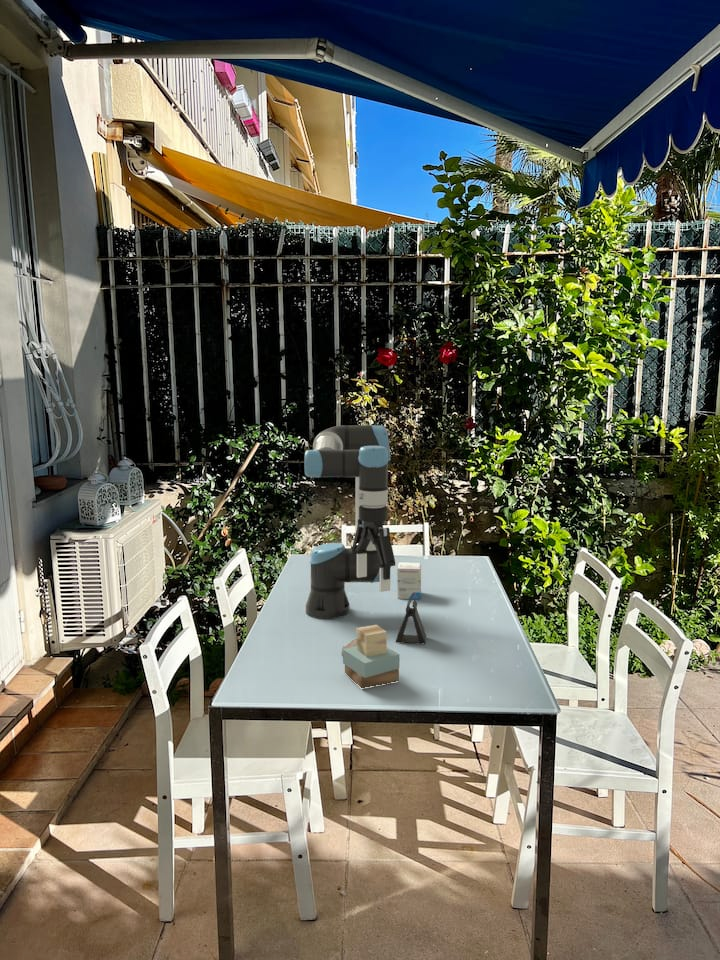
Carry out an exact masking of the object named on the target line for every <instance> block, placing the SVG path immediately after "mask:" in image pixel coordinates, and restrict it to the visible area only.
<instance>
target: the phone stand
mask: <svg viewBox="0 0 720 960" xmlns="http://www.w3.org/2000/svg"><path fill="white" fill-rule="evenodd" d="M411 602H412V606H411ZM410 617H411V618H412V620H413V624H414V627H415V630H416V632H415V633H416V635H413V634H405V632H406V627H407V624H408V621H409V618H410ZM426 640H427V633H426V631H425V627H424V625H423V622H422V620H421V616H420V613H419V611H418V602H417V599H413V601H412V599H408V601H407V604H406V607H405V615H404V618H403V619H402V622H401V626H400V628H399V631H398V633H397V635H396V639H395V643H397V642H404V643H403V644H412V643H425V644H426Z"/></svg>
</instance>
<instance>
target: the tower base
mask: <svg viewBox="0 0 720 960" xmlns="http://www.w3.org/2000/svg"><path fill="white" fill-rule="evenodd" d="M345 673H346V674H347V675H348V676H349V677H350V678H351V679H352V680H353V681H354V682H355V683H356V684H358V685H359V686H360V687H361V688H365V687H370V686H376V685H382V684H387V683H391V682H396V681H399V682H400V668H399V669H395V670H392V671H388V672H385V673H381V674H377V675H374V676H370V677H367V678H364V677H363V676H361V675H360V674H358V673H357V672H355V671H354V670H352V669H351V668H349V667H348V666H346V665H345V664H344V674H345ZM346 674H345V675H346ZM347 675H346V676H347ZM348 676H347V677H348ZM349 677H348V678H349ZM350 678H349V679H350ZM351 679H350V680H351ZM352 680H351V681H352ZM353 681H352V682H353ZM354 682H353V683H354ZM355 683H354V684H355ZM356 684H355V685H356Z"/></svg>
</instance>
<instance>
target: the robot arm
mask: <svg viewBox="0 0 720 960" xmlns="http://www.w3.org/2000/svg"><path fill="white" fill-rule="evenodd" d="M389 461H391V450H390V440H389V435H388V430H387V428H386V427H385V426H383V425H377V424H376V425H375V424H374V425H373V424H363V425H362V424H360V425H355V424H354V425H353V424H352V425H336V426H331V427H329V428H326V429H324V430H322V431H320V432H319V433H318V434H317V435H316V436H315V437H314V439H313V443H312V449H307V450H305V452H304V462H303V463H304V465H303V466H304V475H305V476H306V477H308V478H317V479H319V478H355V493H354V494H355V497H354V498H355V504H354V505H355V507H354V508H355V511H354V512H355V519H354V520H355V524H354V525H355V535H354V538H353V541H351V542H350V547H349V548H348V547H345V545H344V543H341V542H329V543H323V544H320V545H318V546H315V547H313V548H312V550H311V552H310V561H309V563H310V592H309V595H308V597H307V601H306V604H305V613H306V614H307V615H308V616H309V617H313V618H318V619H338V618H341V617H345V616H347V615H348V614H349V613H351V612H350V610H351V606H350V602H349V599H348V596H347V593H346V588H345V583H370V584H373V583H379V592H381V593H382V592H388V591H389V592H390V591H391V568H392V567H395V566H396V560H395V554H394V549H393V545H392V541H391V535H390V534H391V531H390V528H389V527H384V526H383V524H384V522H386V521H387V520H388V517H389V516H388V512H389V511H388V509H389V507H388V506H387V505H388V503H389V501H388V500H389V496H388V495H389V489H388V483H389V481H388V477H389V476H388V475H389Z"/></svg>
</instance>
